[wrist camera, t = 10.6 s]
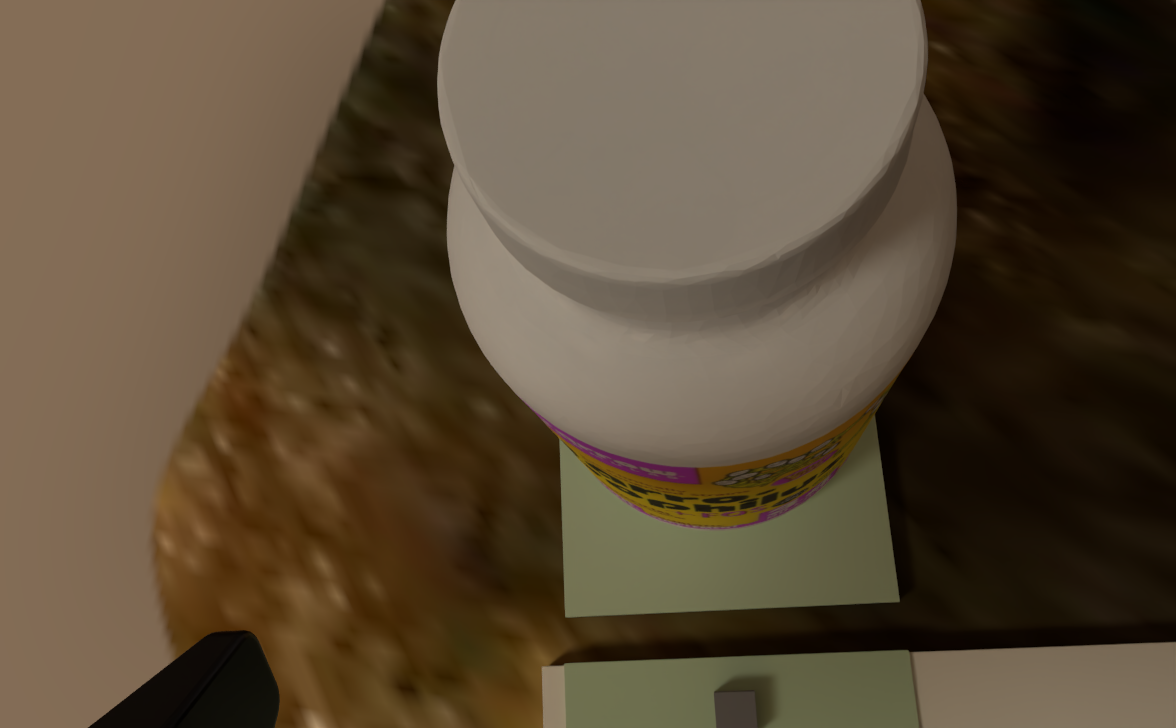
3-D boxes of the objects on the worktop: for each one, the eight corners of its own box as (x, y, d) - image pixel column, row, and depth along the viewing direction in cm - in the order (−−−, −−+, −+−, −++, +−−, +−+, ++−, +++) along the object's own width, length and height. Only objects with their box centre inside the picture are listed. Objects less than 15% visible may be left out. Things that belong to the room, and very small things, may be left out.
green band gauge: (1391, 749, 17) (1436, 757, 16) (550, 767, 20) (537, 775, 18) (1223, 130, 21) (1251, 101, 20) (535, 208, 23) (524, 186, 22)
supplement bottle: (553, 521, 21) (269, 365, 8) (585, 247, 22) (386, -214, 10) (864, 550, 19) (1057, 412, 7) (871, 256, 21) (1038, -257, 9)
